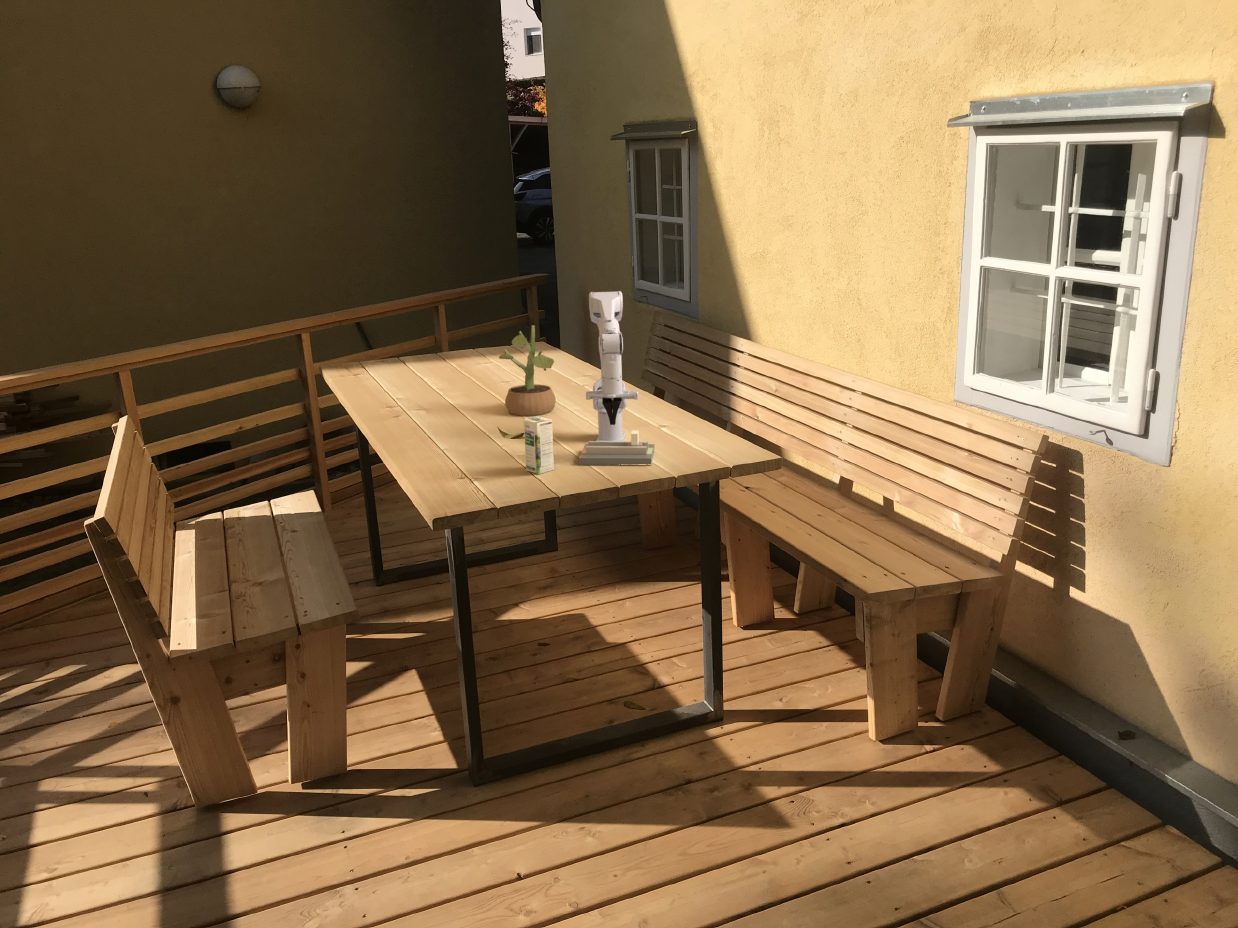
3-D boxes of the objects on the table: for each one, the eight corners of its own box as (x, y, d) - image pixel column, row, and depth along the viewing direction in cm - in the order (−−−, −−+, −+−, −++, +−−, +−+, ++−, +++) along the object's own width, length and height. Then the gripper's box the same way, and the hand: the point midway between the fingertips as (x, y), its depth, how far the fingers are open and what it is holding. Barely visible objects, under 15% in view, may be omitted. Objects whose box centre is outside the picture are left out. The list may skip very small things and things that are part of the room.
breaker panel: (585, 450, 286) (585, 437, 285) (654, 450, 284) (654, 437, 282) (579, 465, 272) (578, 451, 271) (651, 465, 270) (650, 451, 269)
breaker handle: (628, 448, 279) (628, 430, 277) (642, 448, 278) (642, 430, 277) (627, 452, 276) (627, 433, 274) (641, 452, 275) (641, 433, 273)
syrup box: (525, 470, 269) (522, 419, 264) (541, 465, 273) (539, 415, 268) (538, 474, 265) (535, 422, 261) (555, 469, 269) (552, 418, 264)
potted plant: (496, 408, 337) (491, 321, 328) (547, 403, 343) (542, 317, 334) (515, 424, 317) (510, 331, 308) (568, 417, 323) (564, 326, 314)
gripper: (583, 380, 270) (585, 427, 274) (636, 379, 269) (637, 427, 273) (586, 374, 277) (588, 421, 281) (638, 374, 276) (639, 421, 280)
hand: (612, 424), depth 278 cm, fingers closed
